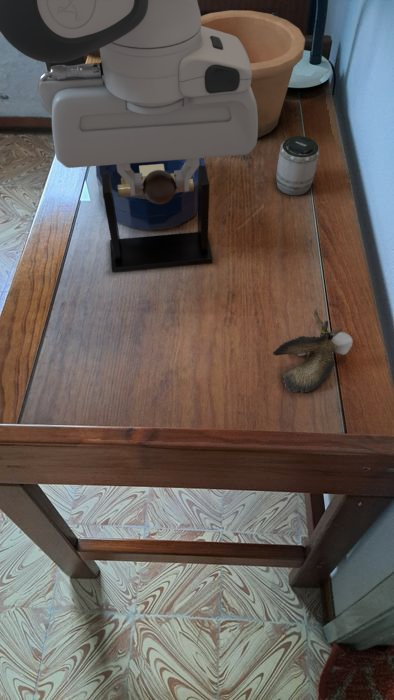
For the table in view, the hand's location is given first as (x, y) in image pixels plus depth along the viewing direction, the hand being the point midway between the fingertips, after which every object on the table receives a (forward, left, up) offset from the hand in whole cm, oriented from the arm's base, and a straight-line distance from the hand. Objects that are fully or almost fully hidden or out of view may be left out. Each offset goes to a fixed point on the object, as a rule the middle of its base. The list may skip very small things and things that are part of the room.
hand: (160, 190), depth 56 cm
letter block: (0, +22, -17) cm, 27 cm away
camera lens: (+24, +23, -19) cm, 38 cm away
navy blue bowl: (0, +23, -19) cm, 30 cm away
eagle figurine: (+17, -13, -19) cm, 29 cm away
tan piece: (0, +7, -7) cm, 10 cm away
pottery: (+18, +45, -19) cm, 52 cm away
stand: (0, +10, -19) cm, 21 cm away
